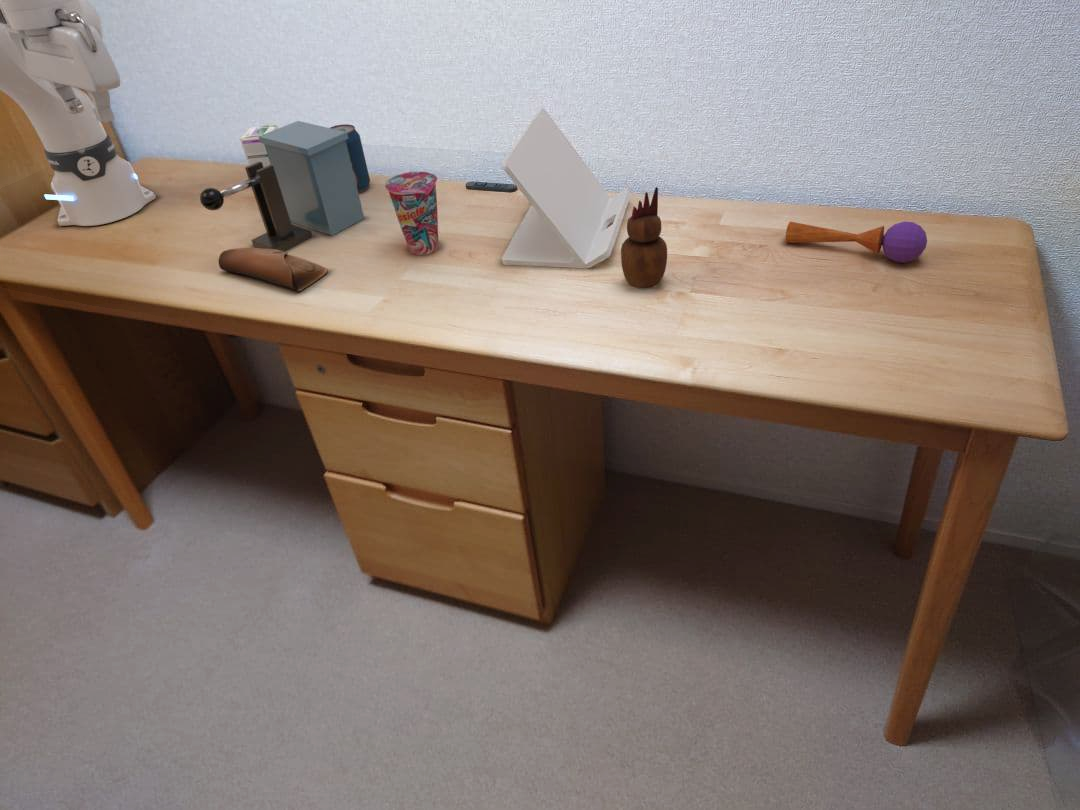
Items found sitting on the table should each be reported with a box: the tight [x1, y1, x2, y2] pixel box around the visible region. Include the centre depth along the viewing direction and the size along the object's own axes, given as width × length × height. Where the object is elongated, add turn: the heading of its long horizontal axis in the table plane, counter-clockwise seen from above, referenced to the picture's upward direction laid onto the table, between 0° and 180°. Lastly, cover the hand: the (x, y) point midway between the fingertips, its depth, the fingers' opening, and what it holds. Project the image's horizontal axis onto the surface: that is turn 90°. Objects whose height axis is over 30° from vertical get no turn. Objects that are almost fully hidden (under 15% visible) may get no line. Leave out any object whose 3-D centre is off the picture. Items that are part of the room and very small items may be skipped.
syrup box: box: [239, 124, 279, 167], centre depth 147 cm, size 6×6×14 cm
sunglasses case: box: [218, 247, 329, 292], centre depth 128 cm, size 18×7×7 cm
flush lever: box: [199, 172, 260, 211], centre depth 127 cm, size 13×4×4 cm, turn 142°
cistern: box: [259, 120, 366, 237], centre depth 139 cm, size 9×14×16 cm, turn 52°
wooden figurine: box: [620, 186, 668, 290], centre depth 111 cm, size 7×6×15 cm
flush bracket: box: [244, 162, 313, 252], centre depth 134 cm, size 8×7×14 cm
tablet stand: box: [501, 108, 633, 269], centre depth 126 cm, size 18×25×17 cm
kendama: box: [785, 221, 928, 263], centre depth 117 cm, size 6×6×20 cm
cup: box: [385, 171, 440, 256], centre depth 127 cm, size 9×8×12 cm
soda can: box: [329, 123, 371, 194], centre depth 151 cm, size 7×7×12 cm
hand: (91, 116), depth 107 cm, fingers open, 7 cm apart
